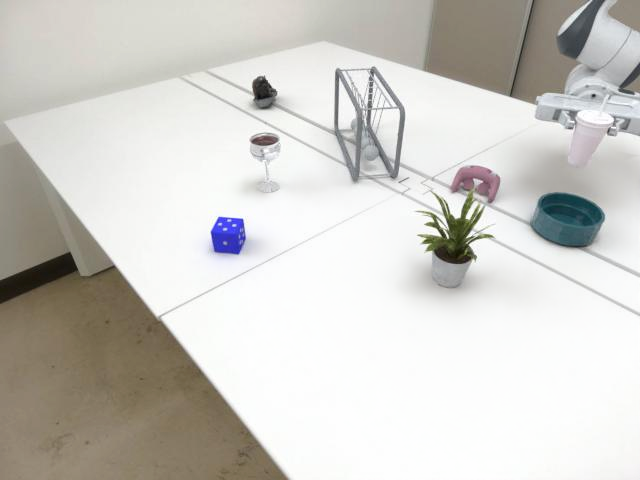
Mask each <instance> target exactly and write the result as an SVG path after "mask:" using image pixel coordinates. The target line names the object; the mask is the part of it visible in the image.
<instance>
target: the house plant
mask: <svg viewBox="0 0 640 480" xmlns="http://www.w3.org/2000/svg"><path fill="white" fill-rule="evenodd" d="M427 190H429V192H430V193H432V195H433V196H434V197H435V198H436V200H437V201H438V203H439V206H440V208H441V211H442V214H443V217H444V219H445V222H446V224H447V226H446V224H445V223H444V221H443V220H442V219H441V218H440V217H439V216H437V215H436V214H435V213H433V212H431V211H426V210H425V211H424V210H415V211H414V212H415V213H420V214H423V216H426V217H429V218H432V221H428V222H426V223H424V224H423V226H426V227H431V228H433V229H436V230H437V232H438V233H439V235H434V234H427V233H425V234H420V233H419V234H417V237H420V238H424V239H423V240H422V241H421V243H420V244H419V245H427V247H426V249H425V250H424V252H423V254H425V253H427V252H431V270H432V271H431V274H432V275H431V276H432V280H433V281H434V282H435V283H436V284H437V285H439V286H440V287H443V288H448V289H449V288H457V287H458V286H459V285H461V283H462V282H463V280H464V278H465V276H466V273H467V271H468V270H469V268H470V266H471V265H472V262H473V260H474V263H476V262H477V259H478V256H477V255H476V254H475V251H474V249H473V248H472V247H471V246H470V244H472V243H473V242H475V241H477V240H483V239H489V238H492V239H495V240H497V239H496V237H495V236H494V235H492V234H489V233H484V234H479V233H481V232H483V231H485V230H486V229H488V228H489V227H492V226H494V225H495V223H493V224H490V225H488V226H486V227H484V228H482V229H480V230H478V231H476V232H475V233H474V234H472V235H470V234H471V233H472V231H473V229H474V228H475V226H476V224H478V222H479V221H480V219H481V217H482V215H483V213H484V211H485V208H486V204H484V205H483V206H482V208H481V203H482V200H479V202H478V204H477V206H476V207H475V209H474V210H473V213H472V214H471V216H470V218H469V219H468V218H467V216H468V213H469V211H470V210H471V208H472V206H473V204H474V203H475V202H477V200H478V199H479V198H474V192H475V186H474V187H473V188H472V189H470V190H469V192H468V194H467V196H466V198H465V201H464V203H463V205H462V207H461V211H460V217H457V218H456V217H455V216H454V215H453V214H452V213H451V211H450V207H449V203H448V202H447V201H446V200H445V199H444V197H442V196H440V195H438V194H437V193H436V192H434V191H432V190H430V189H429V188H428V189H427ZM480 208H481V209H480ZM440 223H441V224H442V225H443V226H444V227H445V228H444V227H441V225H440ZM447 235H448V237H447ZM469 235H470V236H469ZM468 236H469V237H468Z"/></svg>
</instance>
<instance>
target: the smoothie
mask: <svg viewBox="0 0 640 480" xmlns="http://www.w3.org/2000/svg"><path fill="white" fill-rule="evenodd" d="M608 98H609V94H606V96H605V98H604V101H603V103H602V106H601V108H600V111H596V110H582V111H579V112H578V113H577V116H576V118H575V119H576V125H574V129H573V134H572V139H571V143H570V146H569V147H570V148H569V151H568V156H567V162H568V163H569V164H570V165H572V166H575V167H580V168H581V167H587V166H588V164H589V163H590V161H591V160H592V158H593V156H594V154H595V152H596V150H597V149H598V147H599V145H600V144H601V142H602V140H603V139H604V138H605V135H607V130H608V129H609V127H611V126H612V125H613V122H614V118H613V117H612V116H611V115H609V114H607V113H604V112H603V110H604V107H605V105H606V102H607V100H608Z"/></svg>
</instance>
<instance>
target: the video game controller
mask: <svg viewBox="0 0 640 480" xmlns="http://www.w3.org/2000/svg"><path fill="white" fill-rule="evenodd" d="M474 179H475V180H477V181H481V182H480V183H479V184H478V185H477V187H476V190H477V192H478V193H480V194H486V193H488V194H487V195H488V197H487V202H488V203H492V202H493V201H494V200H495V198H496V196H497V193H498V192H499V189H500V188H499V187H500V185H501V181H502V180H501V177H500V175H499V174H497V173H496V172H495V171H493V170H492V169H490V168H487V167H485V166H481V165H473V164H472V165H471V164H470V165H469V164H468V165H464V166H462V167H460V168H459V169H458V170H457V172H456V173H455V176H454V177H453V179H452V184H451V186H450V187H451V188H450V190H451V192H452V193H454V192H456V191H457V190H458V189H459V187H460V186H461V184H463V188H464V189H465V190H471V189H472V188H473V187H474V188H475V181H474Z"/></svg>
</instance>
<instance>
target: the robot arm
mask: <svg viewBox="0 0 640 480" xmlns="http://www.w3.org/2000/svg"><path fill="white" fill-rule="evenodd" d="M618 1H619V0H587V1H586V2H585V3H584V4H582V6H580V7H579V8H578V9H577V10H575V11H574V12H573V13H572V14H571V15H570V16H569V17H568V18H567V19H566V20H565V21H564V22H563V24H561V27H559V30H558V32H557V34H556V37H555V38H556V46H557V49H558V52H559V53H560V55H563V56H565V57H567V58H569V59H570V60H573V61H577V62H578V63H579V64H577V65H576V66H575V67H573V69H572V70H571V71H570V72H569V74H568V76H567V78H566V80H565V84H564V92H563V93H557V92H545V93H543V94H542V95H537V96H536V97H535V104H536V108H535V112H534V115H533V116H534V118H535V119H536V120H538V121H544V122H549V123H557V124H560V125H561V126H563V127H564V130H570V131H574V129H575V125H576V119H575V118H576V116H577V113H578V112H579V111H582V110H596V111H600V108H601V106H602V103H603V101H604V98H605V96H606V94H609V98H608V100H607V102H606V105H605V107H604V110H603V112H604V113H607V114H609V115H611V116H612V117H613V118H614V122H613V125H612V126H611V127H609V129H608V130H607V132H606V135H607V136H610V137H616V136H617V135H618V133H626V134H632V135H640V93H639V92H637V91H633V90H630V89H625V88H627V87H628V86H630V85H631V84H632V83H633V82H634V81H635V80H637V78H638V77H640V32H639V31H637V30H636V29H634V28H632V27H630V26H627V25H626V24H624V23H622V22H620V21H619V20H617V19H615V18H614V17H612V16H611V15H610V14H609V10H610V9H611V8H612V7H613V6H614V5H615V4H616V3H617V2H618Z"/></svg>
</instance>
